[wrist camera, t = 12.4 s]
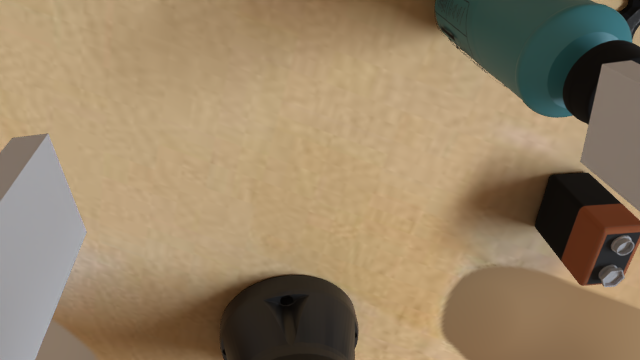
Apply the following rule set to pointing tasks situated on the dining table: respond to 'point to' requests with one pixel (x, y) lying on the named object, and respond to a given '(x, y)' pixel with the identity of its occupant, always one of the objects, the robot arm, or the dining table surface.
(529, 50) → the beverage bottle
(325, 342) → the robot arm
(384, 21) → the dining table surface
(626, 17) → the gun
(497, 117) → the dining table surface
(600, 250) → the battery
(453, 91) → the dining table surface
